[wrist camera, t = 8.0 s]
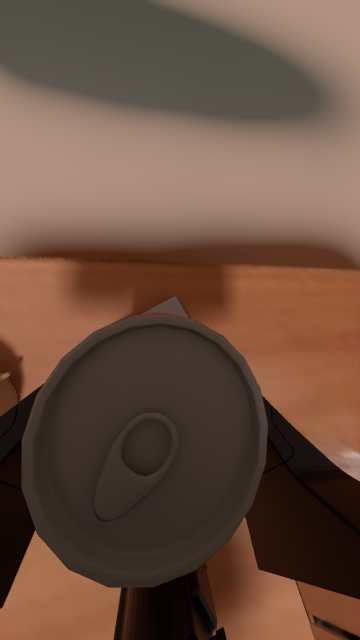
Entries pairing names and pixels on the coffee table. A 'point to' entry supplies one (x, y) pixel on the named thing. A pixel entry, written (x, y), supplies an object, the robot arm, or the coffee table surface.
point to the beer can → (144, 450)
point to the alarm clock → (6, 393)
